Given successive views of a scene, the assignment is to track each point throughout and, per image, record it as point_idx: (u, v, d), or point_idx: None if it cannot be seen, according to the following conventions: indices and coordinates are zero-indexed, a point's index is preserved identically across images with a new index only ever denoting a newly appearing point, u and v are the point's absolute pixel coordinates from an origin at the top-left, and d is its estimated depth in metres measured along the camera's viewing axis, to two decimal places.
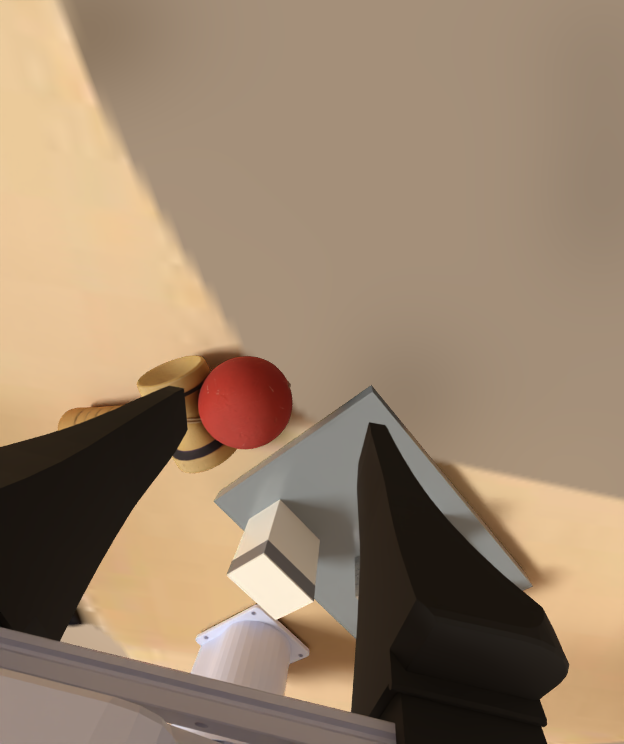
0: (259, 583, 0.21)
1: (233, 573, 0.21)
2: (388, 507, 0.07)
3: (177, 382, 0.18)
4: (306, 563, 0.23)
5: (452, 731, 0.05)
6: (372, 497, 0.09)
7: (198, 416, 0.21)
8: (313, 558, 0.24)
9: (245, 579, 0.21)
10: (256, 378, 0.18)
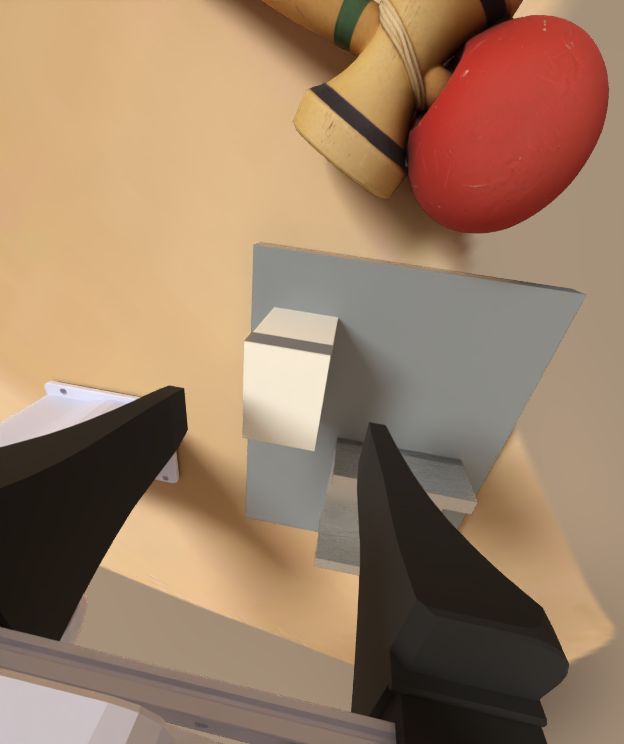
0: (276, 385, 0.13)
1: (257, 347, 0.13)
2: (388, 507, 0.07)
3: None
4: None
5: (452, 731, 0.05)
6: (372, 497, 0.09)
7: (421, 75, 0.10)
8: None
9: (262, 366, 0.13)
10: (607, 105, 0.09)
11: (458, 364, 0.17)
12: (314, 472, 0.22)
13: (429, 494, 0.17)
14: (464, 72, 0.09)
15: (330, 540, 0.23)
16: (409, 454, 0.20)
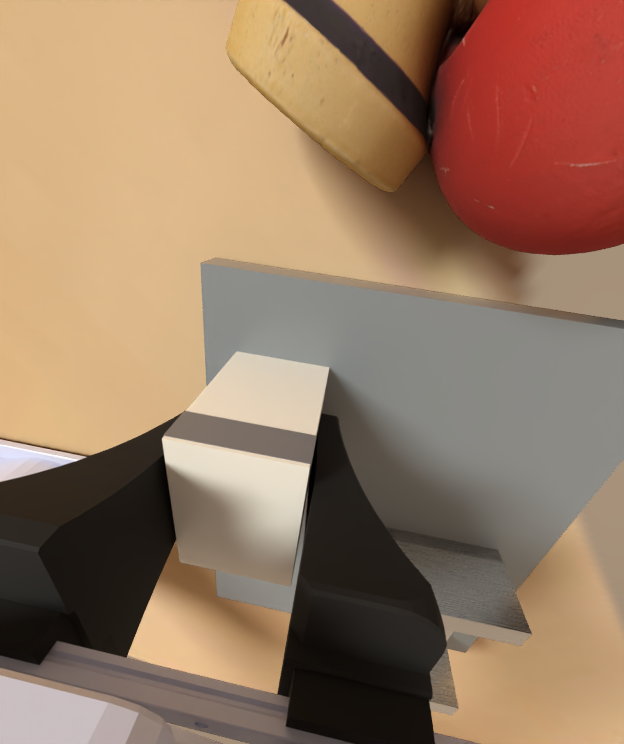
0: (223, 501, 0.08)
1: (184, 447, 0.07)
2: (312, 492, 0.07)
3: None
4: None
5: (338, 704, 0.05)
6: (312, 485, 0.09)
7: None
8: None
9: (197, 473, 0.08)
10: None
11: (504, 434, 0.12)
12: (301, 554, 0.17)
13: (461, 620, 0.12)
14: None
15: None
16: (428, 543, 0.14)
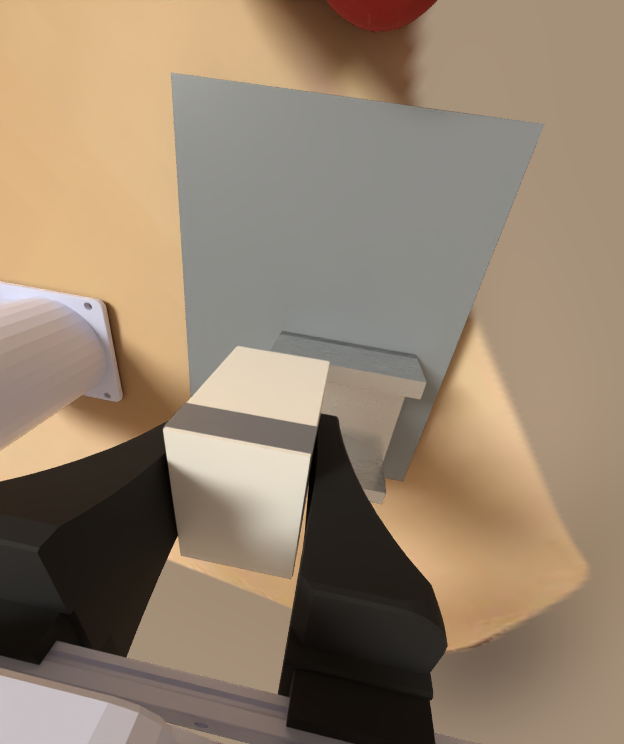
0: (224, 493, 0.08)
1: (185, 437, 0.07)
2: (313, 492, 0.07)
3: None
4: None
5: (338, 704, 0.05)
6: (312, 485, 0.09)
7: None
8: (307, 490, 0.12)
9: (198, 464, 0.08)
10: None
11: (406, 227, 0.15)
12: None
13: (373, 374, 0.15)
14: None
15: None
16: (359, 347, 0.18)
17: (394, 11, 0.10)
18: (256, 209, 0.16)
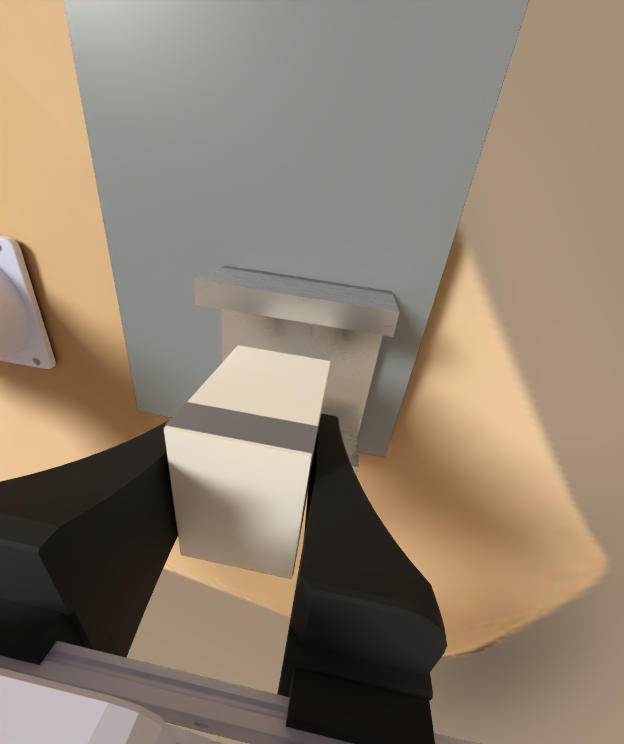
0: (225, 492, 0.08)
1: (186, 436, 0.07)
2: (312, 492, 0.07)
3: None
4: (306, 497, 0.11)
5: (338, 703, 0.05)
6: (312, 485, 0.09)
7: None
8: None
9: (199, 464, 0.08)
10: None
11: (370, 108, 0.12)
12: (207, 330, 0.17)
13: (330, 303, 0.12)
14: None
15: None
16: (320, 282, 0.14)
17: None
18: (176, 93, 0.12)
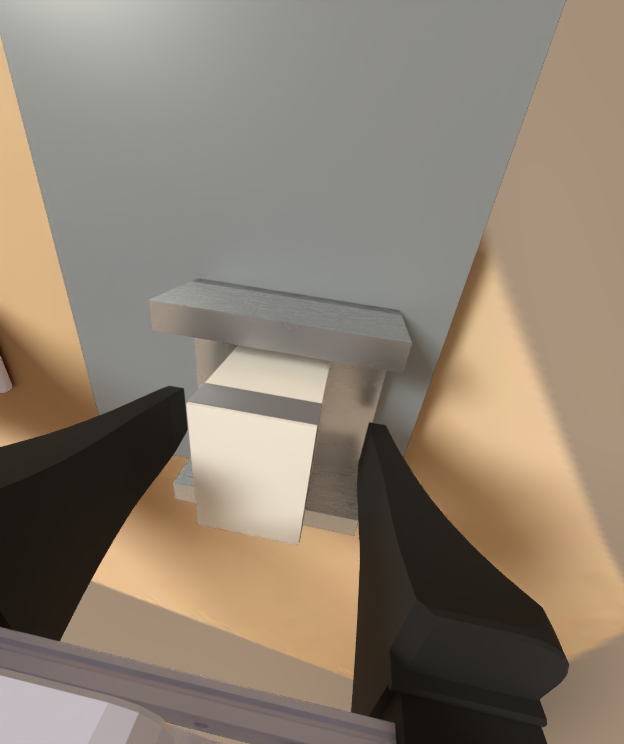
0: (239, 463, 0.09)
1: (206, 411, 0.08)
2: (388, 507, 0.07)
3: None
4: None
5: (452, 731, 0.05)
6: (372, 497, 0.09)
7: None
8: None
9: (216, 436, 0.09)
10: None
11: (375, 79, 0.09)
12: (179, 353, 0.14)
13: (322, 331, 0.09)
14: None
15: None
16: (312, 299, 0.12)
17: None
18: (127, 62, 0.10)
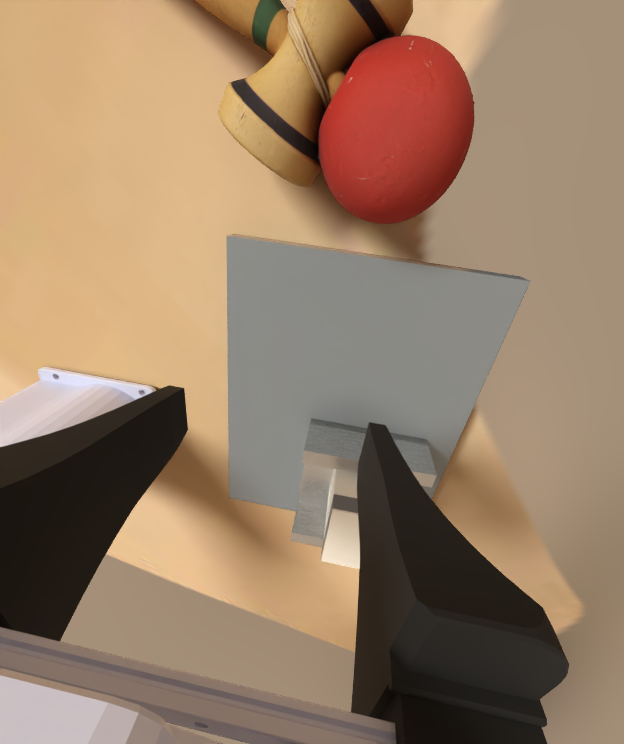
0: (352, 534, 0.18)
1: (341, 513, 0.18)
2: (388, 507, 0.07)
3: None
4: None
5: (452, 731, 0.05)
6: (372, 497, 0.09)
7: (324, 78, 0.12)
8: None
9: (342, 522, 0.18)
10: (470, 117, 0.11)
11: (418, 347, 0.18)
12: (291, 453, 0.24)
13: None
14: (349, 79, 0.11)
15: (306, 517, 0.24)
16: None
17: (391, 222, 0.14)
18: (292, 330, 0.19)
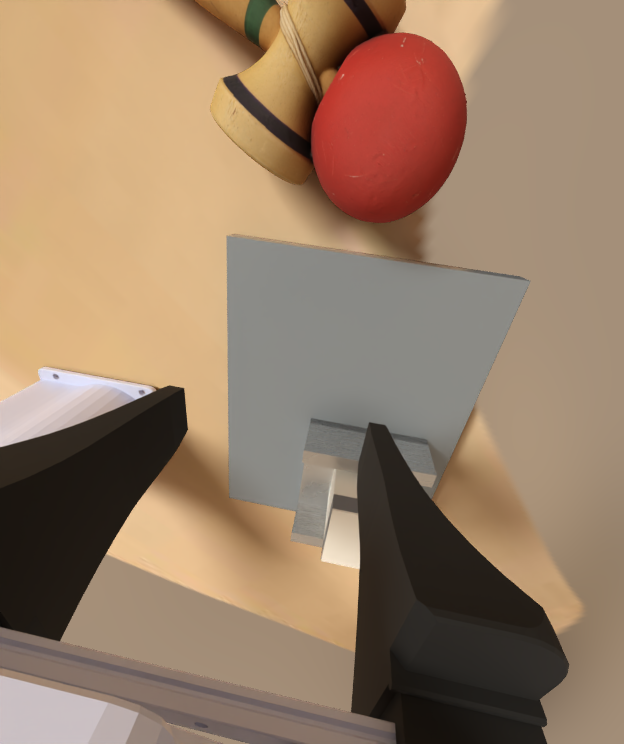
0: (352, 534, 0.18)
1: (341, 513, 0.18)
2: (388, 507, 0.07)
3: None
4: None
5: (452, 731, 0.05)
6: (372, 497, 0.09)
7: (317, 75, 0.12)
8: None
9: (342, 522, 0.18)
10: (462, 116, 0.11)
11: (418, 347, 0.18)
12: (291, 453, 0.24)
13: None
14: (341, 75, 0.11)
15: (306, 517, 0.24)
16: None
17: (384, 221, 0.14)
18: (292, 330, 0.19)
